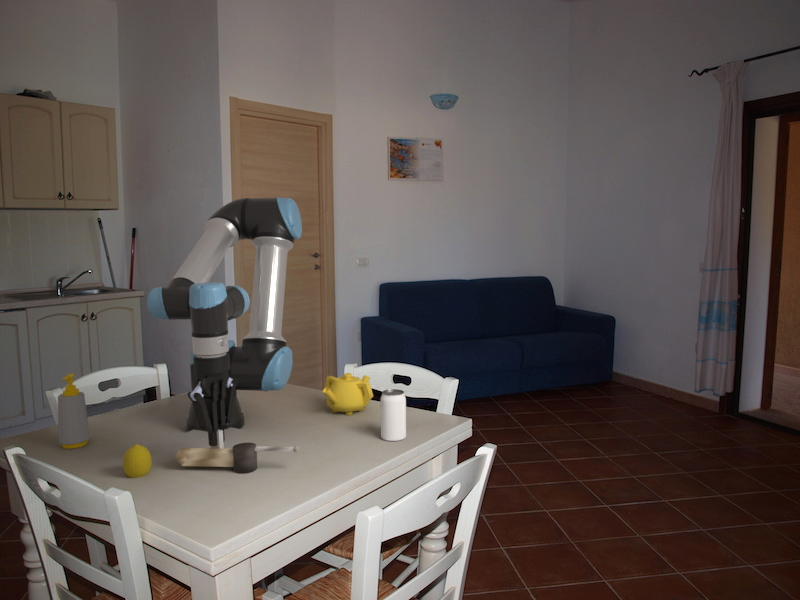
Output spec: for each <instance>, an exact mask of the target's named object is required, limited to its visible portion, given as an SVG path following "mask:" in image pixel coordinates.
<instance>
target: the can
mask: <svg viewBox="0 0 800 600" xmlns="http://www.w3.org/2000/svg"><path fill="white" fill-rule="evenodd" d="M381 393H382V394H381V396H380V438H382V440H383V441H386V442H391V443H392V442H393V443H394V442H401V441H404V440H405V439H406V438H407V398H406V395H405V391H404V390H402V389H398V388H397V389H395V388H390V389H385V390H383V391H382V392H381Z"/></svg>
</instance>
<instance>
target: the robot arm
mask: <svg viewBox="0 0 800 600" xmlns="http://www.w3.org/2000/svg"><path fill="white" fill-rule="evenodd" d="M302 225H303V224H302V216H301V213H300V208H299V207H298V205H297V203H296V201H295V200H294V199H292V198H290V197H279V196H277V197H254V198H250V197H249V198H248V197H245V198H244V197H243V198H237V199H235V200H232V201H229V202H228V203H227V204H225V205H223V206H221V207H219V209H217V210H216V211H215V212H214V213H212V215H210V217H209V219H208V220H207V221H206V222H205V224H204V227H203V234H202V235H201V237H200V238H199V239H198V241H197V242H196V243H195V245H194V247H193V248H192V249H191V251H190V252H189V254H188V256H187V257H186V259H185V260H184V261H183V263H182V264H181V266H180V267H179V268H178V270H177V271H176V273H175V274H174V276H173V277H172V279H171V281H170V282H169V283H168V285H167V286H160V287H159V286H158V287H154V288H152V289H151V290H150V291H149V292H148V294H147V300H146V301H147V309H148V311H149V314H150V315H151V316H152V317H153V318H155V319H158V320H159V319H160V320H167V321H168V320H169V321H171V320H177V321H178V320H179V321H180V320H190V324H191V325H190V326H191V342H192V349H191V350H190V352H189V369H190V385H191V391H188V392H187V398H188V399H189V401H190V402H191V404H190V407H189V411H188V412H189V413H188V417H187V419H186V422H185V423H186V425H185V427H186V431H187V432H188V433H189V432H191V431H193V430H195V431H201V432H207V435H208V436H207V437H208V438H207V439H208V445H209V446H210V448H225V447H224V443H225V440H226V439H225V430H228V429H230V428H231V429H232V428H233V429H241V428H242V427H244V425H245V414H244V412H242V407H241V404H240V401H239V399H238V394H237V393H238V392H237V391H257V392H258V391H261V392H269V391H270V392H272V391H280V390H282V389H283V388H284V387H286V385H287V383H288V381H289V379H290V376H291V373H292V368H293V350H292V349H291V348H290V347H288V346H287V340H286V339H285V338H284V337H283V335H282V333H283V332H282V329H283V317H284V302H285V294H286V293H285V292H286V291H285V290H286V279H287V266H288V264H287V263H288V254H289V251H291V249H293V248H294V245H295V240H296V241H297V240H299V239H301V237H302V235H303V226H302ZM243 240H251V244H252V246H254V248H255V249H256V251H255V262H254V273H253V283H252V284H253V285H252V296H251V300H250V297H249V296H250V295H249V293H248V292H247V290H245V289H244V288H243V287H242V286H239V285H226V286H225V284H224V283H222V282H219V281H218V282H217V281H215V282H214V281H212V282H211V281H210V280H211V278H212V276H213V275H214V273H215V272H216V270H217V268H218V267H219V265H220V264H221V262H222V260H224V259H223V258H224V257H225V255H226V254H227V252H228V251H229V249H230V248H232V247H234V246H235V245H236V244H237V243H238V242H240V241H243ZM250 302H251V303H250ZM250 304H251V306H250ZM250 307H251V308H250ZM249 308H250V317H249V319H250V320H249V328H248V329H249V330H248V331H249V332H248V334H246V335H245V336H244V337H243V338H242V342H241V343H242V344H241V346H236V343H235V340H233V339H232V340H231V339H229V325H228V322H230V321H231V320H235V319H237V318H240V317H241V316H242V315H244V314H245V313H247V311H248V309H249Z"/></svg>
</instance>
